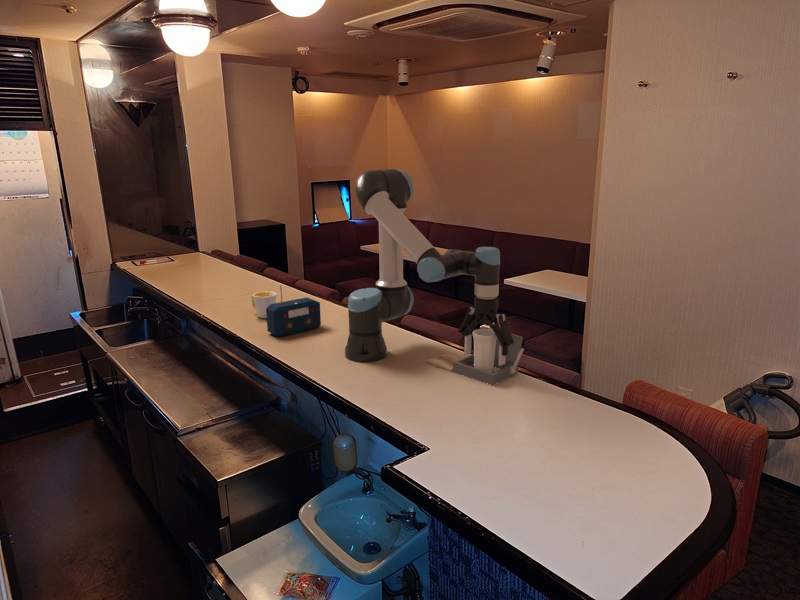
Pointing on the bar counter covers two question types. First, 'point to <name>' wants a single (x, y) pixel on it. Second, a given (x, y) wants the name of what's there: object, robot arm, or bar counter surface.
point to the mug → (263, 302)
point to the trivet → (443, 361)
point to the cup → (484, 349)
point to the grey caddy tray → (506, 369)
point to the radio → (293, 316)
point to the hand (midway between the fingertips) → (484, 359)
